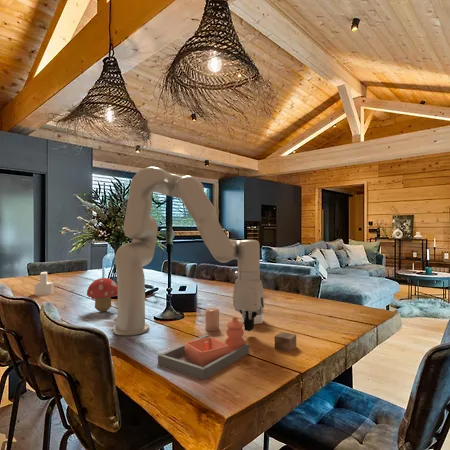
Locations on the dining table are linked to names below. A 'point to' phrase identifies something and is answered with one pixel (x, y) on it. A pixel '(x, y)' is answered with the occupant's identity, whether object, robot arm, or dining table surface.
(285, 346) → the metal block
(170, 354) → the corral
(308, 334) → the dining table surface
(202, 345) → the pottery
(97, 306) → the decorative mushroom
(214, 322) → the beige rounded cylinder
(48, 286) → the white stepped block
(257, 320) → the jar
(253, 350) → the dining table surface
